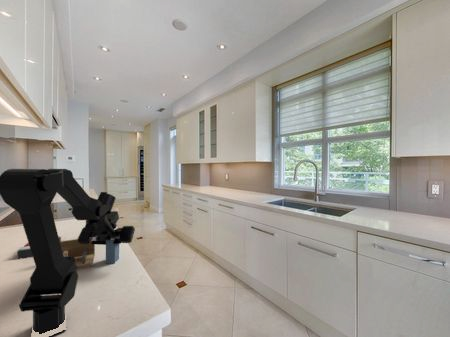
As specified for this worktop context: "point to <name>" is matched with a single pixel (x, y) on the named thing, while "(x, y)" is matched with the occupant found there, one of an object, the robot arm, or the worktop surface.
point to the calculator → (27, 251)
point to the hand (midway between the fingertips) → (114, 243)
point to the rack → (79, 252)
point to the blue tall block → (111, 251)
